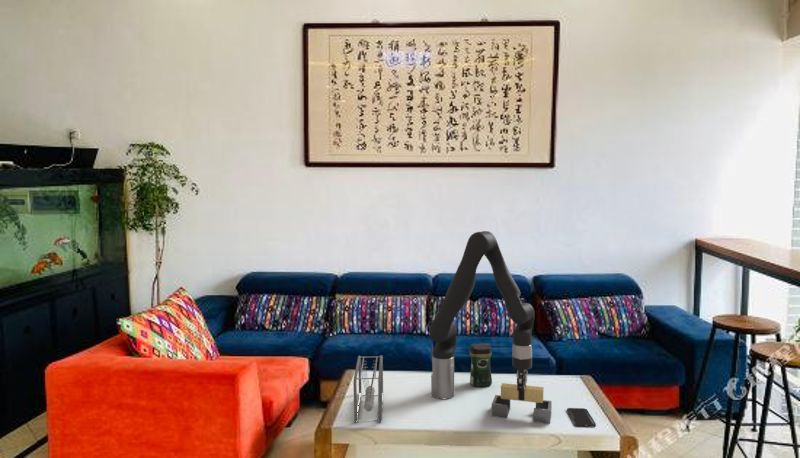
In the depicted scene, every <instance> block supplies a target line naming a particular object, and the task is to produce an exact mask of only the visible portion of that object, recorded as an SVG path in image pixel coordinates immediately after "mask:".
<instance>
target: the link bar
mask: <svg viewBox="0 0 800 458" xmlns="http://www.w3.org/2000/svg"><path fill="white" fill-rule="evenodd" d="M520 388H522V387H520ZM544 389H545V388H544V387H543V386H535V385H534V386H533V385H527V384H526V385H525V391H524V401H522V400H519V399H518V391H517V383H516V384H515V383H504V382H502V383H501V384H500V395H501V399H509V400H510V401H511V400H512V401H518V402H529V403H535V404H536V403H543V400H544Z"/></svg>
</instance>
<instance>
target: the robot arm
mask: <svg viewBox="0 0 800 458" xmlns="http://www.w3.org/2000/svg"><path fill="white" fill-rule="evenodd" d="M484 256H485V258H486V259H487V260H488V263H489V265H490V267H491V269H492V273H493V277H494V282H495V284H496V287H497V289H498V291H499V293H500V294H501V296H502V298H503V300H504V303H505V307H506V310H507V313H508V315H509V318H510V320H511V321H512V322H513V323H515V324H516V327H515V328H514V329H513V333H512V347H511V348H512V350H511V353H512V361H511V363H512V364H511V366H512V367H513V369H517V372H516V385H517V391H518V399H519V400H522V401H521V402H525V401H524V391H525V385H526V386H527V382H528V373H529V372H528V370H530V369H532V367H533V347H532V345H533V344H532V341H533V340H532V339H533V338H532V332H533V328H534V325H535V317H536V315H535V309H534V306H532V304H531V303H529V302H528V303H527V302H523V303H522V301H521V299H520V297H521V295H522V293H521V290H520V289H519V286H518V285H517V283H516V281H515V280H514V277H513V276H512V274H511V272H510V270H509V268H508V265H507V263H506V261H505V259H504V256H503V254H502V251H501V247H500V245H499V243H498V241H497V237H496V236H495V235H494V234H493V233H492V232H490V231H488V230H483V231H476V232H474V233H472V234H471V235H470V236H469V237H468V240H467V243H466V245H465V249H464V252H463V255H462V258H461V260H460V263H459V265H458V267H457V269H456V272H455V274H454V276H453V277H452V279H451V282H450V284H449V286H448V288H447V291H446V293H445V296H444V299H443V301H442V303H441V306H440V308H439V309H438V312H437V313H436V316H434V319H433V321H432V322H431V324H430V326H429V329H428V333H429V337H430V339H431V340H432V341H433V342H435V345H434V346H433V348H432V358H431V359H432V373H431V375H430V379H431V380H430V383H431V385H430V388H431V395H432V396H431V397H433V396H435V397H434V398H436V397H438V398H437V399H439V398H449V399H452V398H453V397H454V396H455V351H456V348H457V326H456V323H455V322H454V320H455V318H456V316H457V315H458V314H459V312H460V311H461V310H462V308H463V307H464V306H465V305H466V303H467V301H469V298H470V297H471V294H472V293H473V290H474V288H475V284H476V276H477V275H476V274H477V268H478V267H479V265H480V262H481V260H482V258H483V257H484ZM520 387H522V388H520ZM451 397H452V398H451Z"/></svg>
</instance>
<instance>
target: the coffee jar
mask: <svg viewBox="0 0 800 458" xmlns="http://www.w3.org/2000/svg"><path fill="white" fill-rule="evenodd" d="M469 348H470V349H469V355H470V357H471V358H470V359H471V362H470V363H471V364H470V366H471V367H470V375H469V383H470V385H471V386H473V387H476V388H477V387H478V388H479V387H480V388H481V387H482V388H483V387H490V386H492V384H493V378H492V370H491V369H492V368H491V356H492V355H493V354H492V346H491V345H490V343H489V342H485V343H471V344H470V345H469Z"/></svg>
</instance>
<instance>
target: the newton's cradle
mask: <svg viewBox="0 0 800 458" xmlns="http://www.w3.org/2000/svg"><path fill="white" fill-rule="evenodd" d="M365 358H366V359H367V358H370V356H361V355H358V356H357V359H356V365H355V371H354V375H353V382H352V383H353V417H354V418H353V420H354V421H355V422H356V421H357V413H358V412H357V403H358V397H357V396H358V395H357V389H358V394H359V393H361V394H362V382H363V384H364V385H363V388H364V390H365V391H364V392H365V393H364V394H365V395H364V396H365V397H364V403H363V408H364V410H365V411H367V412H370V411H371V412H372V410H373V408H374V402H375V401H374V400H375V395H374V394H375V392H376V389H375V387H373V384H374V381H375V380H377V383H378V384H377V390H378V393H377V394H378V395H377V397H378V420H379V421H378V422H379V423H382V422H383V408H382V405H383V404H384V401H383V402H382V393H383V394H384V365H383V363H384V362H383V360H384V357H383V355H379V356H373V355H372V356H371V358H375V360H374V364H375V365H374V366H373V370H367V369H366V368H367V367H365V366H366V363H365ZM378 358H379V362H378ZM377 363H379V364H377ZM377 365H378V377H376V376H377V375H376V374H377ZM368 371H369V372H372V377H368V376H367V375H368V373H367V372H368ZM357 380H358V381H357ZM369 380H371V383H369ZM357 382H358V388H357ZM369 384H370V385H369ZM358 406H359V405H358ZM381 421H382V422H381ZM355 422H354V423H355ZM357 422H358V421H357Z"/></svg>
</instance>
